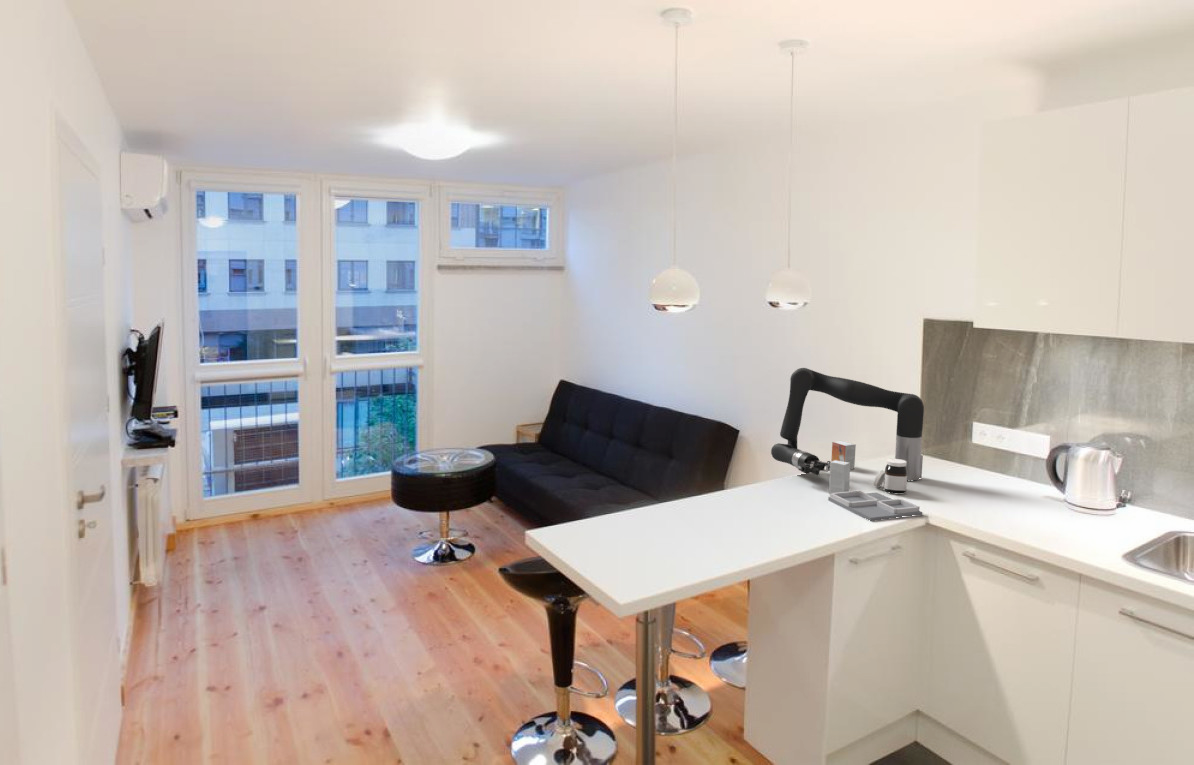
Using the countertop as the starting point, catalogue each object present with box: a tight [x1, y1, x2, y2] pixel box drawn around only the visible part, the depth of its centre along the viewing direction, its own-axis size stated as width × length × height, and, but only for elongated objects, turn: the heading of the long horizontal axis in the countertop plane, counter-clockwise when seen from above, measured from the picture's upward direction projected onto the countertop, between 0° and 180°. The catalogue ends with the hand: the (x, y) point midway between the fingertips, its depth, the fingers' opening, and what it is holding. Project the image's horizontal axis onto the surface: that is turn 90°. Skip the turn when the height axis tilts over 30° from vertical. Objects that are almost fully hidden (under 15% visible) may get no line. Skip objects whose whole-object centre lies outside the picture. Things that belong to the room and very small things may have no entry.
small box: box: [830, 440, 856, 470], centre depth 307 cm, size 8×6×10 cm
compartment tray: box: [827, 490, 923, 522], centre depth 254 cm, size 20×24×3 cm
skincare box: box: [828, 460, 851, 495], centre depth 269 cm, size 6×4×12 cm
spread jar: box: [873, 458, 908, 494], centre depth 274 cm, size 12×11×12 cm
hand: (828, 471), depth 276 cm, fingers open, 8 cm apart
